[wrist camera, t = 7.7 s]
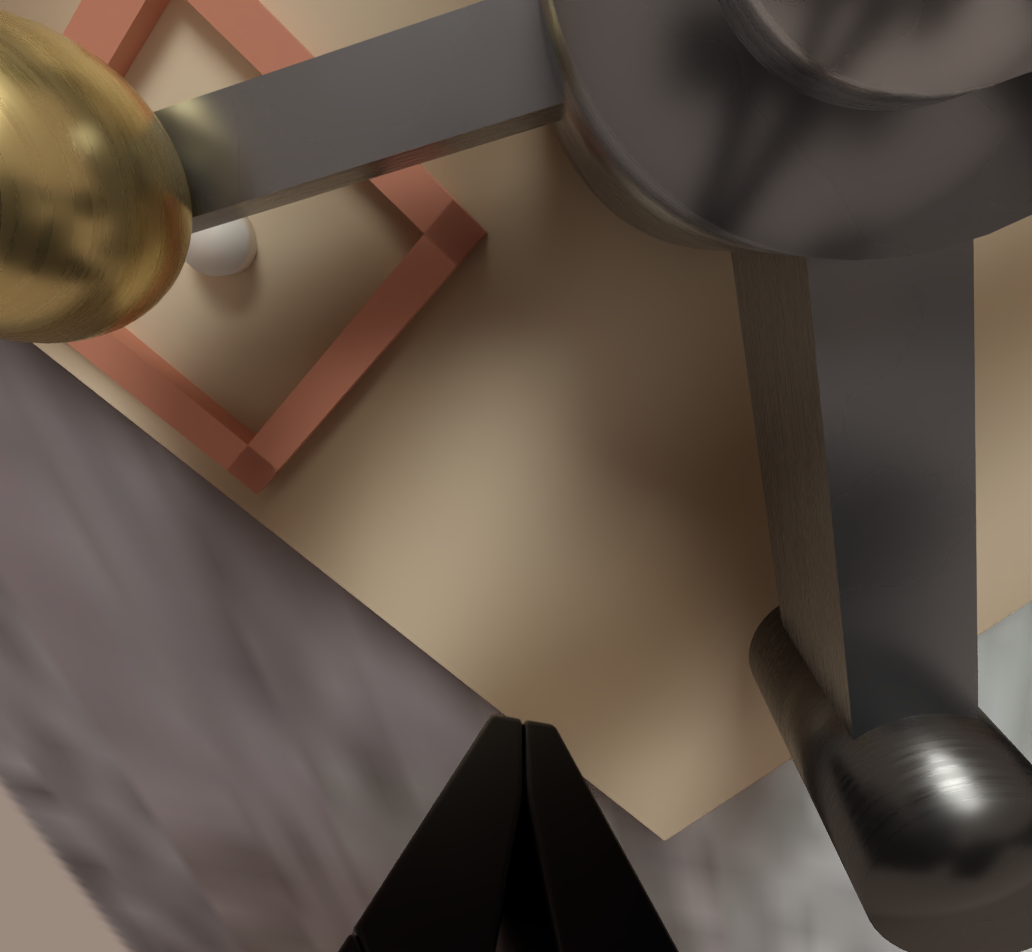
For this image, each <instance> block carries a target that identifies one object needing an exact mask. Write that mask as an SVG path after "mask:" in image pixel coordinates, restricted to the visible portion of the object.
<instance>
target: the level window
mask: <svg viewBox="0 0 1032 952" xmlns="http://www.w3.org/2000/svg"><path fill="white" fill-rule="evenodd" d="M187 1H188V2H189V3H190V4H191V5H192V6H193V7H194V8H195V9H196V10H197V11H198V12H199V13H200V14H201V15H202V16H203V17H204V18H205V19H206V20H207V21H208V22H209V23H210V24H211V25H212V26H213V27H214V28H215V29H216V30H217V31H218V32H219V33H220V34H222V35H223V36H224V37H225V38H226V39H227V40H228V41H229V42H230V43H231V44H232V45H233V46H234V47H235V48H236V49H237V50H238V51H239V52H240V53H241V54H242V55H243V56H244V57H245V58H246V59H247V60H248V61H249V62H250V63H251V64H252V65H253V66H254V67H255V68H256V69H257V70H258V71H259V72H260V73H261V74H262V75H264V74H267V73H270V72H273V71H276V70H279V69H282V68H285V67H288V66H291V65H294V64H297V63H300V62H303V61H306V60H309V59H312V58H315V57H314V56H313V55H312V54H311V53H310V52H309V51H308V50H307V49H306V48H305V47H304V46H303V45H302V44H301V43H300V42H299V41H298V40H297V39H296V38H295V36H294V35H293V34H292V33H291V32H290V31H289V30H288V29H287V28H286V27H285V26H284V25H283V24H282V23H281V22H280V21H279V20H278V19H277V18H276V17H275V16H274V15H273V14H272V13H271V12H270V11H269V10H268V9H267V8H266V7H265V6H264V5H263V4H262V3H261V2H260V1H259V0H187ZM169 2H170V0H81V2H80V4H79V6H78V8H77V9H76V11H75V13H74V15H73V17H72V18H71V20H70V22H69V24H68V25H67V27H66V29H65V31H64V33H63V34H62V35H64V36H66V37H68V38H70V39H72V40H73V41H75V42H77V43H79V44H80V45H82V46H83V47H85V48H86V49H87V50H89V51H90V52H92V53H93V54H95V55H96V56H98V57H99V58H100V59H101V60H103V61H104V62H105V63H107V64H108V65H109V66H110V67H111V68H113V69H114V70H115V71H116V72H117V73H118V74H119V75H121V76H122V77H123V78H124V77H125V75H126V73H127V72H128V70H129V68H130V67H131V65H132V63H133V62H134V60H135V58H136V57H137V55H138V53H139V52H140V50H141V48H142V47H143V45H144V43H145V42H146V40H147V38H148V37H149V35H150V33H151V32H152V30H153V28H154V27H155V25H156V23H157V22H158V20H159V18H160V17H161V15H162V13H163V12H164V10H165V8H166V7H167V5H168V4H169ZM369 180H370V181H371V182H372V183H373V184H374V185H375V186H376V187H377V188H378V189H379V190H380V191H381V192H382V193H383V194H384V195H385V196H386V197H387V198H388V199H389V200H391V201H392V202H393V203H394V204H395V205H396V206H397V207H398V208H399V209H400V210H401V211H402V212H403V213H404V214H405V215H406V216H407V217H408V218H409V219H410V220H411V221H412V222H413V223H414V224H415V225H416V226H417V227H418V228H419V229H420V230H421V231H422V232H423V233H424V234H423V236H422V237H421V238H420V239H419V240H418V242H417V243H416V244H415V245H414V246H413V248H412V249H411V250H410V251H409V252H408V254H407V255H406V256H405V257H404V258H403V260H402V261H401V262H400V263H399V264H398V266H397V267H396V268H395V269H394V270H393V272H392V273H391V274H390V275H389V276H388V278H387V279H386V280H385V281H384V282H383V284H382V285H381V286H380V287H379V288H378V290H377V291H376V292H375V293H374V294H373V296H372V297H371V298H370V299H369V300H368V302H367V303H366V304H365V305H364V306H363V308H362V309H361V310H360V311H359V312H358V313H357V315H356V316H355V317H354V318H353V319H352V321H351V322H350V323H349V324H348V325H347V327H346V328H345V329H344V330H343V331H342V333H341V334H340V335H339V336H338V337H337V339H336V340H335V341H334V342H333V343H332V345H331V346H330V347H329V348H328V349H327V351H326V352H325V353H324V354H323V355H322V357H321V358H320V359H319V360H318V361H317V363H316V364H315V365H314V366H313V367H312V369H311V370H310V371H309V372H308V373H307V375H306V376H305V377H304V378H303V379H302V381H301V382H300V383H299V384H298V385H297V387H296V388H295V389H294V390H293V391H292V392H291V394H290V395H289V396H288V397H287V398H286V400H285V401H284V402H283V403H282V404H281V406H280V407H279V408H278V409H277V410H276V412H275V413H274V414H273V415H272V416H271V418H270V419H269V420H268V421H267V422H266V424H265V425H264V426H263V427H262V428H261V430H260V431H259V432H258V433H257V434H256V435H255V434H254V433H253V432H251V431H250V430H249V429H248V428H247V427H245V426H244V425H243V424H242V423H240V422H239V421H238V420H237V419H236V418H234V417H233V416H232V415H231V414H230V413H228V412H227V411H226V410H225V409H223V408H222V407H221V406H220V405H219V404H217V403H216V402H215V401H214V400H213V399H211V398H210V397H209V396H208V395H207V394H205V393H204V392H203V391H202V390H200V389H199V388H198V387H197V386H196V385H194V384H193V383H192V382H191V381H190V380H188V379H187V378H186V377H185V376H183V375H182V374H181V373H180V372H179V371H177V370H176V369H175V368H174V367H173V366H171V365H170V364H169V363H168V362H166V361H165V360H164V359H163V358H162V357H160V356H159V355H158V354H157V353H156V352H154V351H153V350H152V349H151V348H149V347H148V346H147V345H146V344H145V343H143V342H142V341H141V340H140V339H139V338H137V337H136V336H135V335H134V334H132V333H131V332H130V331H129V330H128V329H126V328H125V327H123V328H121V329H118V330H116V331H113V332H110V333H108V334H105V335H102V336H99V337H96V338H91V339H86V340H81V341H74V342H67V343H68V344H69V345H70V346H72V347H73V348H74V349H75V350H77V351H78V352H79V353H80V354H82V355H83V356H84V357H85V358H87V359H88V360H89V361H90V362H92V363H93V364H94V365H95V366H97V367H98V368H99V369H100V370H102V371H103V372H104V373H105V374H107V375H108V376H109V377H110V378H112V379H113V380H114V381H115V382H117V383H118V384H119V385H120V386H122V387H123V388H124V389H125V390H127V391H128V392H129V393H130V394H132V395H133V396H134V397H135V398H137V399H138V400H139V401H140V402H142V403H143V404H144V405H145V406H147V407H148V408H149V409H150V410H152V411H153V412H154V413H155V414H157V415H158V416H159V417H160V418H162V419H163V420H164V421H165V422H167V423H168V424H169V425H170V426H172V427H173V428H174V429H175V430H177V431H178V432H179V433H180V434H182V435H183V436H184V437H185V438H187V439H188V440H189V441H190V442H192V443H193V444H194V445H195V446H197V447H198V448H199V449H200V450H202V451H203V452H204V453H205V454H207V455H208V456H209V457H210V458H212V459H213V460H214V461H215V462H217V463H218V464H219V465H220V466H222V467H223V468H224V469H225V470H227V471H228V472H229V473H230V474H232V475H233V476H234V477H235V478H237V479H238V480H239V481H240V482H242V483H243V484H244V485H246V486H247V487H248V488H249V489H251V490H252V491H253V492H254V493H256V494H258V493H259V492H260V491H261V490H263V489H264V488H265V487H266V486H267V485H268V484H269V483H270V482H271V480H272V479H273V478H274V477H275V476H276V475H277V473H278V472H279V471H280V470H281V469H282V468H283V467H284V465H285V464H286V463H287V462H288V461H289V460H290V459H291V457H292V456H293V455H294V454H295V453H296V452H297V451H298V449H299V448H300V447H301V446H302V445H303V444H304V443H305V441H306V440H307V439H308V438H309V437H310V436H311V435H312V433H313V432H314V431H315V430H316V429H317V428H318V426H319V425H320V424H321V423H322V422H323V421H324V420H325V418H326V417H327V416H328V415H329V414H330V413H331V412H332V410H333V409H334V408H335V407H336V406H337V405H338V404H339V402H340V401H341V400H342V399H343V398H344V397H345V396H346V394H347V393H348V392H349V391H350V390H351V389H352V388H353V386H354V385H355V384H356V383H357V382H358V381H359V379H360V378H361V377H362V376H363V375H364V374H365V373H366V371H367V370H368V369H369V368H370V367H371V366H372V365H373V363H374V362H375V361H376V360H377V359H378V358H379V357H380V355H381V354H382V353H383V352H384V351H385V350H386V349H387V347H388V346H389V345H390V344H391V343H392V342H393V341H394V339H395V338H396V337H397V336H398V335H399V334H400V332H401V331H402V330H403V329H404V328H405V327H406V326H407V324H408V323H409V322H410V321H411V320H412V319H413V318H414V316H415V315H416V314H417V313H418V312H419V311H420V310H421V308H422V307H423V306H424V305H425V304H426V303H427V302H428V300H429V299H430V298H431V297H432V296H433V295H434V294H435V292H436V291H437V290H438V289H439V288H440V287H441V285H442V284H443V283H444V282H445V281H446V280H447V279H448V277H449V276H450V275H451V274H452V273H453V272H454V271H455V269H456V268H457V267H458V266H459V265H460V264H461V263H462V261H463V260H464V259H465V258H466V257H467V256H468V255H469V253H470V252H471V251H472V250H473V249H474V248H475V247H476V245H477V244H478V243H479V242H480V241H481V240H482V238H483V237H484V236H485V235H486V234H487V233H488V232H487V231H486V230H485V229H484V228H483V227H482V226H481V225H480V224H479V223H478V222H477V221H476V220H475V219H474V218H473V217H472V216H471V215H470V214H469V213H468V212H467V211H466V210H465V209H464V208H463V207H462V206H461V205H460V204H459V203H458V202H457V201H456V200H455V199H454V198H453V197H452V196H451V194H450V193H449V192H448V191H447V190H446V189H445V188H444V187H443V186H442V185H441V184H440V183H439V182H438V181H437V180H436V179H435V178H434V177H433V176H432V175H431V174H430V173H429V172H428V171H427V170H426V169H425V168H424V167H423V166H422V165H421V164H417V165H414V166H411V167H407V168H404V169H401V170H398V171H394V172H391V173H388V174H385V175H381V176H378V177H375V178H372V179H369ZM256 251H257V237H256V233H255V230H254V228H253V225H252V223H251V222H250V220H249V219H248V218H247V217H244V218H241V219H238V220H235V221H231V222H228V223H225V224H221V225H218V226H215V227H212V228H208V229H205V230H202V231H199V232H195V233H192V234H191V240H190V245H189V249H188V253H187V256H186V260H185V261H186V262H187V263H188V264H189V265H190V266H191V267H192V268H193V269H195V270H197V271H198V272H200V273H202V274H205V275H209V276H224V275H232V274H237V273H240V272H242V271H244V270H245V269H247V268H248V267H249V266H250V264H251V263H252V262H253V260H254V258H255V255H256Z"/></svg>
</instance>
